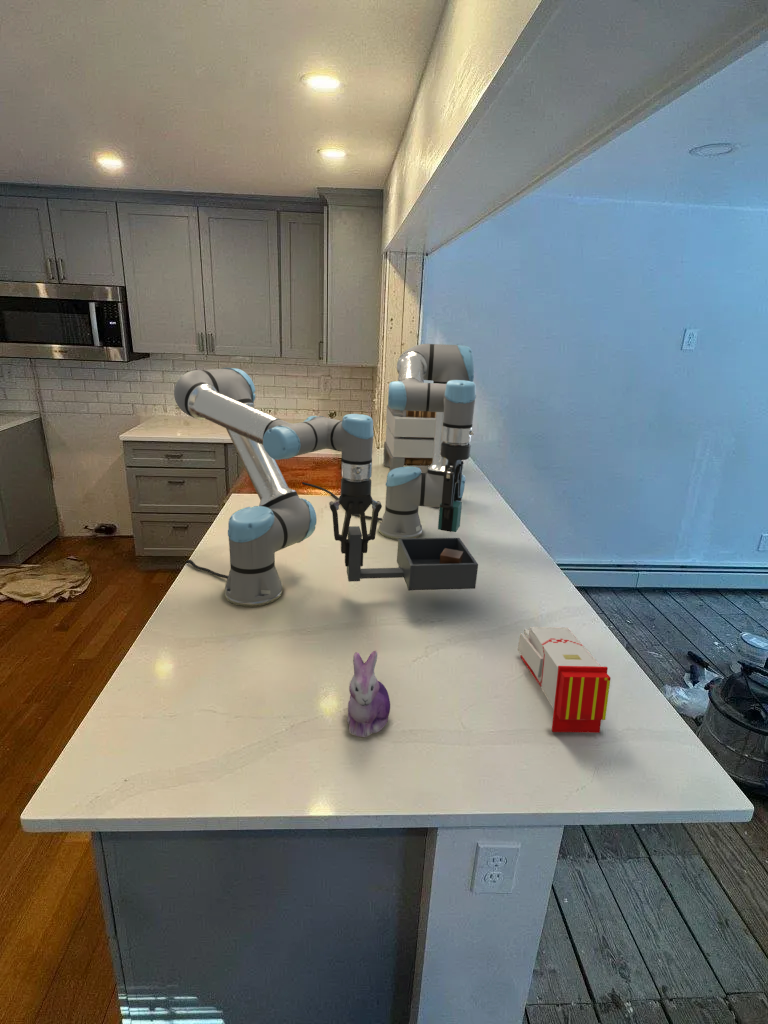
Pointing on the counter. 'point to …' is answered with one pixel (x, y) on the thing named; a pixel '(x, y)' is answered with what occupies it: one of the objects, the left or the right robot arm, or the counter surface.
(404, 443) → the grey slatted crate
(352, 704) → the figurine
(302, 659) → the counter surface
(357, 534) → the box
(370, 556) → the counter surface
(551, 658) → the toy
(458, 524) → the teal block
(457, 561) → the walnut block
